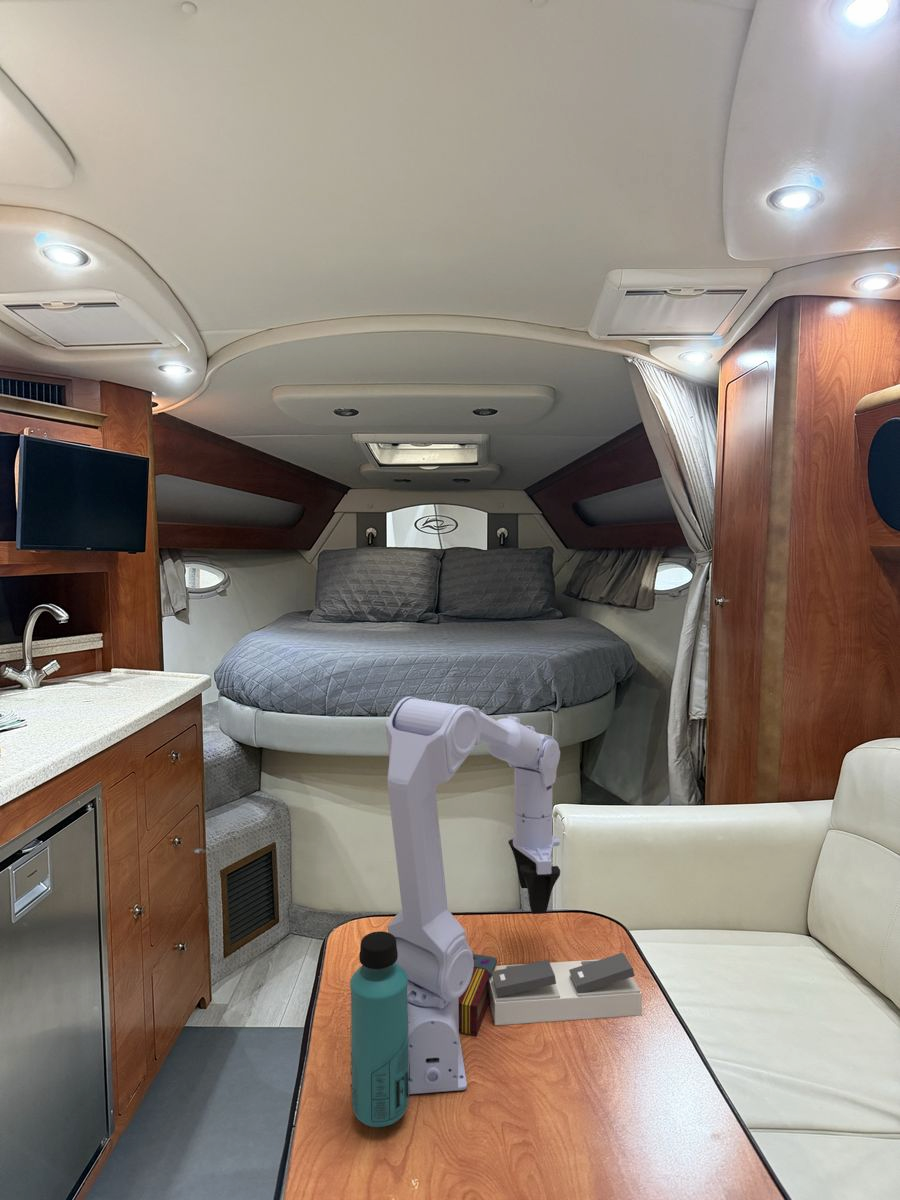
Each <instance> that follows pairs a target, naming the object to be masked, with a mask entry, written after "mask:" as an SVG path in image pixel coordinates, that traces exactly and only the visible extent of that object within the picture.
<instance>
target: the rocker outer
mask: <svg viewBox="0 0 900 1200" xmlns="http://www.w3.org/2000/svg"><path fill="white" fill-rule="evenodd" d="M597 960H598V961H595V962H592V963H589V964H585V965H582V966H579V967H576V968H573V969H570V970H569V972H570V976H571V978H572V980H573V983H574V985H575V987H576V989H577V991H578V993H585V992H588V991H591V990H594V989H597V988H600V987H603V986H606V985H609V984H612V983H615V982H618V981H621V980H624V979H627V978H631V977H632V978H633V977H635V973H634V968H633V966H632V965H631V963H630V961H629V960H628V958H627V957H626V955H625V953H624V952H620V953H616V954H614V955H611V956H608V957H604V958H602V959H601V958H600V959H597Z"/></svg>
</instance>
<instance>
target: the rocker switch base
mask: <svg viewBox="0 0 900 1200" xmlns="http://www.w3.org/2000/svg"><path fill="white" fill-rule="evenodd" d="M598 960H599V959H590V960H589V959H587V960H572V961H571V960H570V961H556V962H549V963H550V965H551V967H552V970H553V972H554V974H555V980H556V984H553V985H549V986H544V987H540V988H535V989H531V990H526V991H522V992H517V993H513V994H508V995H504V996H499V997H498V996H497V993H496V989H495V985H494V981H493V976H491V978H489V980H488V993H489V1007H490V1010H491V1014H492V1017H493V1018H492V1019H493V1022H494V1023H493V1024H494V1026H503V1025H519V1024H532V1023H546V1022H561V1021H563V1022H565V1021H574V1020H576V1021H577V1020H588V1019H589V1020H591V1019H603V1018H617V1017H619V1018H620V1017H630V1016H642V1012H643V1011H642V1009H643V1007H642V1006H643V1005H642V1004H643V999H642V998H643V994H642V993H643V992H642V991H641V989H640V988H639V986H638V985H637V983H636V982H635V980H634V978H633V977H631V978H627V979H624V980H621V981H618V982H615V983H612V984H609V985H606V986H603V987H600V988H597V989H594V990H591V991H588V992H585V993H578V991H577V989H576V987H575V985H574V983H573V980H572V978H571V976H570V972H569V970H570V969H573V968H576V967H579V966H582V965H585V964H589V963H592V962H595V961H598ZM520 965H524V963H521V964H507V965H505V964H504V965H496V966H495V969H494V971H497V970H501V969H506V968H511V967H515V966H520Z"/></svg>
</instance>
